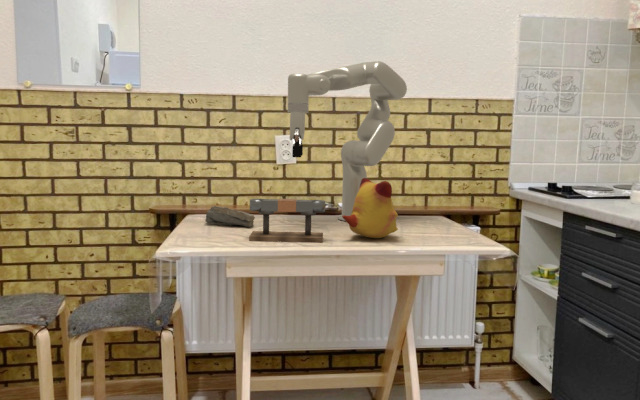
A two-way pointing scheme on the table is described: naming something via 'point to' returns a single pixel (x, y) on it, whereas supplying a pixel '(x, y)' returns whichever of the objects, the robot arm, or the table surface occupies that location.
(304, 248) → the table surface
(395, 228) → the toy
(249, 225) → the rock
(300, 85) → the robot arm
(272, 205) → the two-ball handle bar
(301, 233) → the rack
